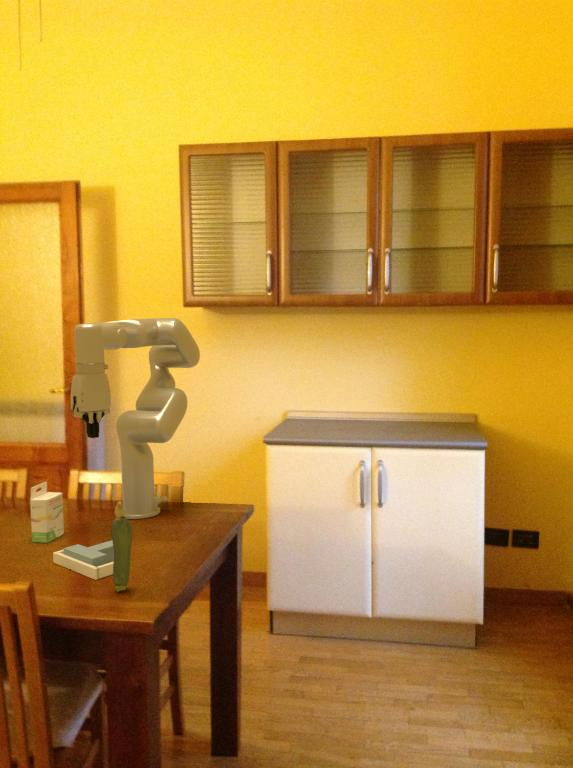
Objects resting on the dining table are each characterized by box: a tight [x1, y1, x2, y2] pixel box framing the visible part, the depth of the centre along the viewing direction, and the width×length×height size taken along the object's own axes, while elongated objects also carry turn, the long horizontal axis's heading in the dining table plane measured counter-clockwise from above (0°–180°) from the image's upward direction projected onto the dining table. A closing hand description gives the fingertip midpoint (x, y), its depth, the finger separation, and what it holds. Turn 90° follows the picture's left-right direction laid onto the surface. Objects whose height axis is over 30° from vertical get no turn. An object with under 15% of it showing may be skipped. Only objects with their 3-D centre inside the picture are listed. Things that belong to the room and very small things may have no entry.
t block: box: [62, 539, 114, 567], centre depth 167 cm, size 12×12×4 cm
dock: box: [52, 549, 114, 581], centre depth 165 cm, size 7×18×2 cm, turn 49°
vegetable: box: [110, 500, 133, 593], centre depth 149 cm, size 4×4×20 cm
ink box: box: [29, 481, 65, 544], centre depth 187 cm, size 9×5×15 cm, turn 168°
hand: (93, 437), depth 188 cm, fingers closed
